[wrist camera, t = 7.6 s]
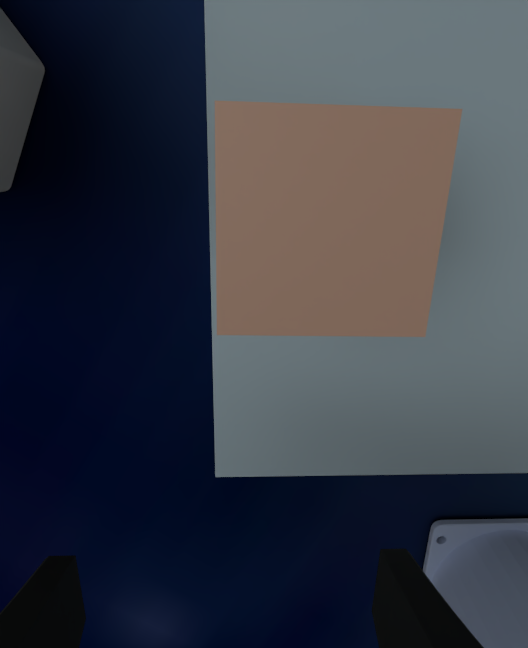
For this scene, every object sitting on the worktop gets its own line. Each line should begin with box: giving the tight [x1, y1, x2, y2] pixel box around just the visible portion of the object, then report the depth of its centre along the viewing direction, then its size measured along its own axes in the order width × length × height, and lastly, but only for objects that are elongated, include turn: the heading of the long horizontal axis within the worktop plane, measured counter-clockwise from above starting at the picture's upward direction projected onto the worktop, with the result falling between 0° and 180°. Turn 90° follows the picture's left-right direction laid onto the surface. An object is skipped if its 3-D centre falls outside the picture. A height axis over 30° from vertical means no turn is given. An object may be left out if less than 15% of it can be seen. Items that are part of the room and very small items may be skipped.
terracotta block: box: [215, 101, 462, 337], centre depth 12 cm, size 4×4×5 cm
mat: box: [204, 0, 528, 477], centre depth 19 cm, size 20×16×1 cm
